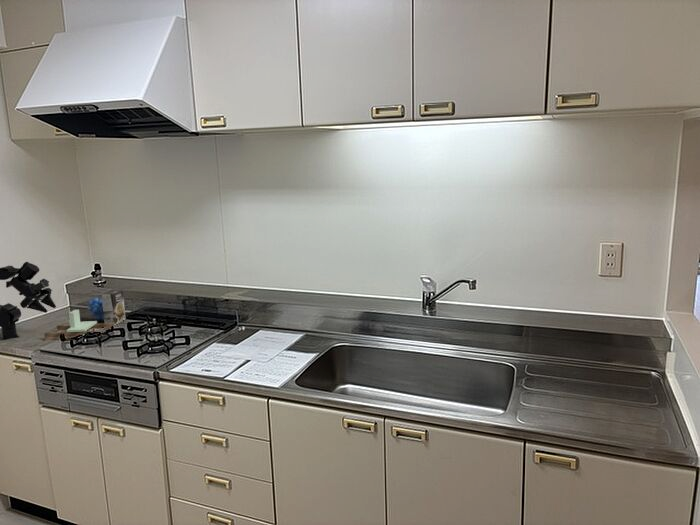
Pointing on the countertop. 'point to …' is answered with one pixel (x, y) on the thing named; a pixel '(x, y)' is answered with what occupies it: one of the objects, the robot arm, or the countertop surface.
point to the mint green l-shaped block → (78, 323)
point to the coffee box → (113, 307)
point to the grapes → (96, 308)
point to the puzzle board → (63, 330)
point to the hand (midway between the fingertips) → (51, 309)
